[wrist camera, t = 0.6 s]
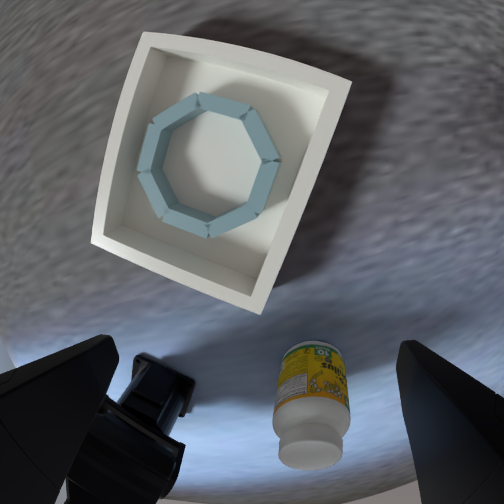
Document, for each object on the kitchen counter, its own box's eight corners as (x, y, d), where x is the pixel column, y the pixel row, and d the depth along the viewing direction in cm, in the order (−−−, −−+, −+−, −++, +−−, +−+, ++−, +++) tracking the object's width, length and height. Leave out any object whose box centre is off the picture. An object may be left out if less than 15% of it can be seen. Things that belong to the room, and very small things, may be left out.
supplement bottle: (268, 356, 25) (248, 448, 16) (322, 326, 23) (325, 422, 14) (304, 393, 25) (297, 481, 17) (355, 368, 24) (366, 459, 15)
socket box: (267, 290, 22) (260, 315, 19) (116, 229, 23) (91, 243, 20) (344, 92, 17) (352, 81, 14) (166, 45, 17) (143, 31, 14)
